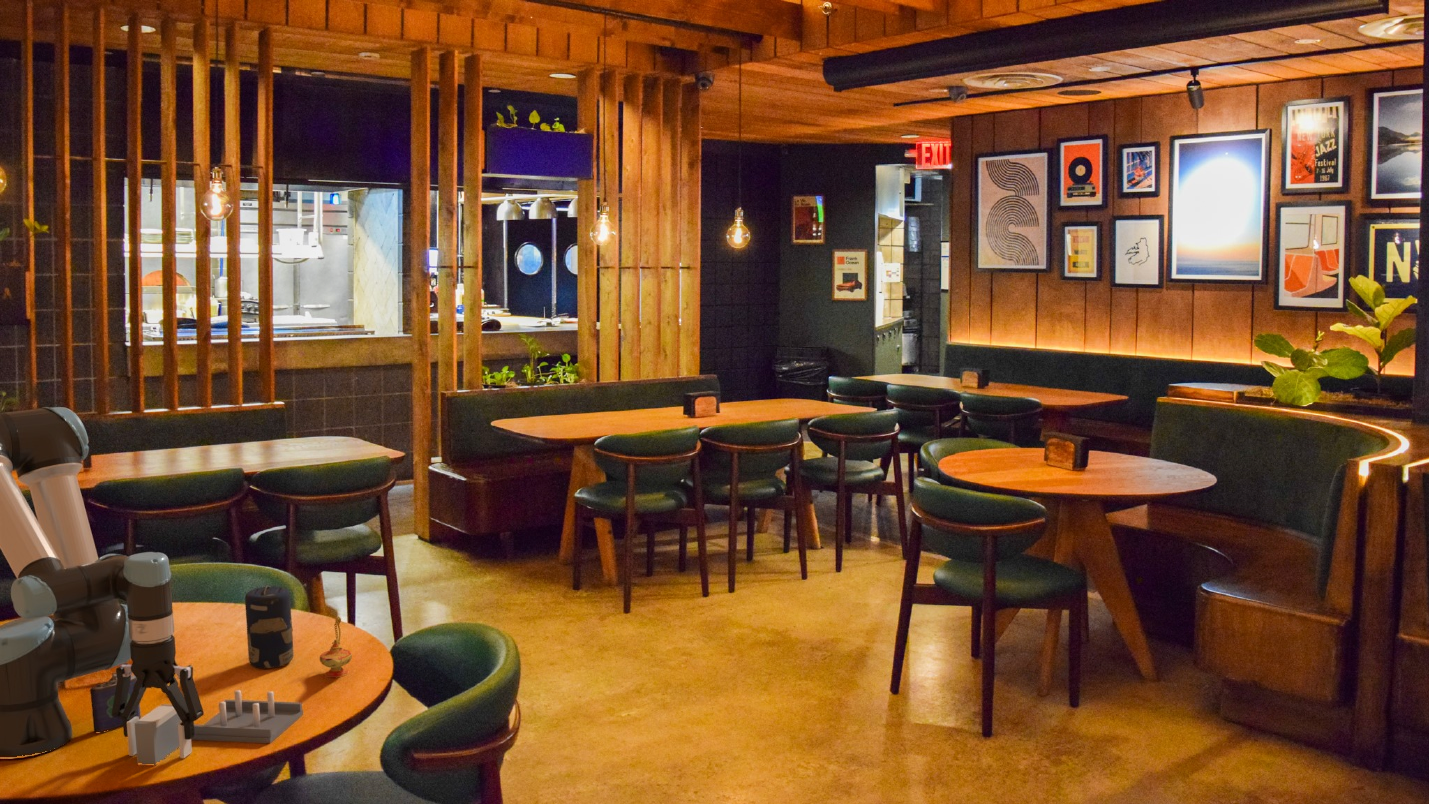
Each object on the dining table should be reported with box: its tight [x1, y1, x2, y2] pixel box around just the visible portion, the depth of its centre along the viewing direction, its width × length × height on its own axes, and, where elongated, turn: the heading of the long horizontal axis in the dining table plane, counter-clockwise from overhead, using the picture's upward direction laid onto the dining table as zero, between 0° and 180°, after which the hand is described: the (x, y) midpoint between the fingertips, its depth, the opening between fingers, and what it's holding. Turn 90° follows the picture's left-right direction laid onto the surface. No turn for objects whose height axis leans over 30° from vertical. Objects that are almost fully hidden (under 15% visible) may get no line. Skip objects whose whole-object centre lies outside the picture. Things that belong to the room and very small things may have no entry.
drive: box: [135, 704, 182, 766], centre depth 227 cm, size 4×9×8 cm, turn 173°
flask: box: [89, 672, 142, 733], centre depth 240 cm, size 9×3×11 cm, turn 144°
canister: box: [244, 585, 294, 669], centre depth 274 cm, size 10×10×18 cm
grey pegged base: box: [191, 689, 304, 744], centre depth 240 cm, size 16×14×6 cm
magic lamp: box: [319, 616, 353, 678], centre depth 266 cm, size 7×18×11 cm, turn 9°
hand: (160, 753), depth 227 cm, fingers open, 9 cm apart
